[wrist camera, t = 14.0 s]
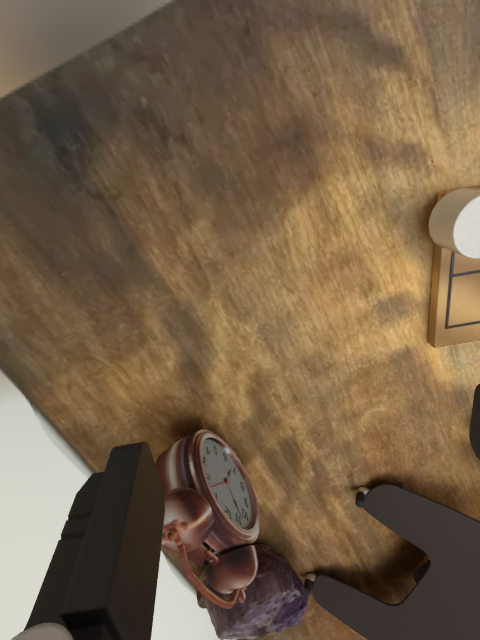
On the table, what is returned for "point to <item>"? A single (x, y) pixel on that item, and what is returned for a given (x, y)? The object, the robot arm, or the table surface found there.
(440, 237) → the stone
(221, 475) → the alarm clock
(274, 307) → the table surface
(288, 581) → the rock
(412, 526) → the laptop tray
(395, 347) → the table surface
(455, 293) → the board
